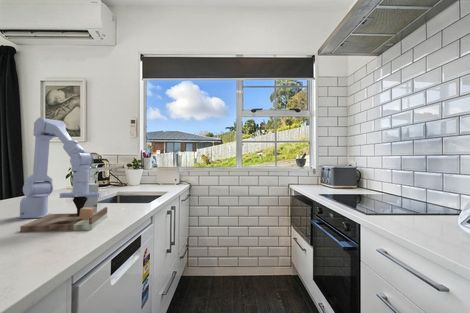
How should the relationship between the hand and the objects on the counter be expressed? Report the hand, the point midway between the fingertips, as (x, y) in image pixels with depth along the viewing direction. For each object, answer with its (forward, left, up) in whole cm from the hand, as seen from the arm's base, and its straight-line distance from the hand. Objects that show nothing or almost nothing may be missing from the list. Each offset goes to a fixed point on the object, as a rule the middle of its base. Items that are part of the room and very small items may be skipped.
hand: (79, 215), depth 107 cm
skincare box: (-2, +16, -3) cm, 17 cm away
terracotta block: (+2, 0, -1) cm, 3 cm away
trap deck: (-4, 0, -3) cm, 5 cm away
